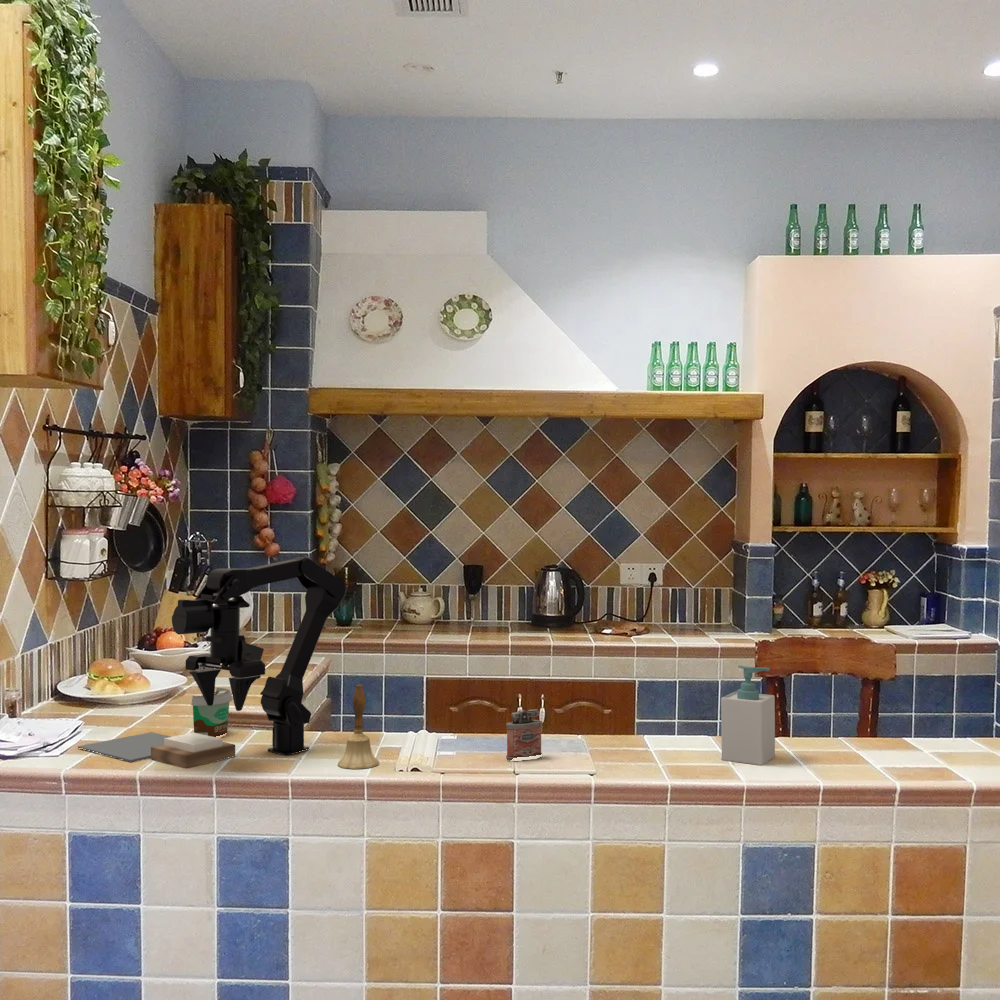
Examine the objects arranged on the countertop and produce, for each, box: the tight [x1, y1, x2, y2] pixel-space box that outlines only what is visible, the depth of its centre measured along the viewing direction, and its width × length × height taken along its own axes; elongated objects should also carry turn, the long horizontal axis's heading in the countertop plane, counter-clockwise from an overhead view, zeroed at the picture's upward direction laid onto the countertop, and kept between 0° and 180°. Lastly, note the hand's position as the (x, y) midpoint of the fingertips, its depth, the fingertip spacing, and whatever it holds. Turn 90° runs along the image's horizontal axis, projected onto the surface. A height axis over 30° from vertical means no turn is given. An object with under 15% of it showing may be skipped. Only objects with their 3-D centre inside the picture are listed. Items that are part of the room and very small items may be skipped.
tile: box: [164, 732, 223, 752], centre depth 206 cm, size 10×7×2 cm
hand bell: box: [337, 684, 380, 770], centre depth 201 cm, size 8×8×16 cm
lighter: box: [505, 709, 543, 760], centre depth 205 cm, size 8×3×10 cm, turn 117°
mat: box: [77, 731, 172, 763], centre depth 215 cm, size 20×18×1 cm
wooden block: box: [150, 741, 236, 769], centre depth 206 cm, size 12×12×2 cm
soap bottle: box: [720, 665, 776, 766], centre depth 205 cm, size 9×9×19 cm
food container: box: [190, 687, 234, 737], centre depth 227 cm, size 12×6×10 cm, turn 168°
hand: (224, 708), depth 201 cm, fingers open, 9 cm apart
